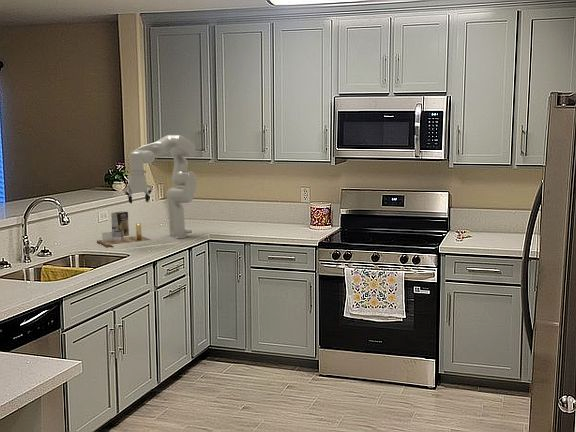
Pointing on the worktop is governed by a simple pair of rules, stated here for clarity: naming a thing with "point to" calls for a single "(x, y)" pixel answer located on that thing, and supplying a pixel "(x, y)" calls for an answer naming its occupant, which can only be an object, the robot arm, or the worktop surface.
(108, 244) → the walnut board
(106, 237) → the clear container
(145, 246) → the worktop surface
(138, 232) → the brass pin
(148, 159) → the robot arm
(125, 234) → the coffee box
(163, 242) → the worktop surface
